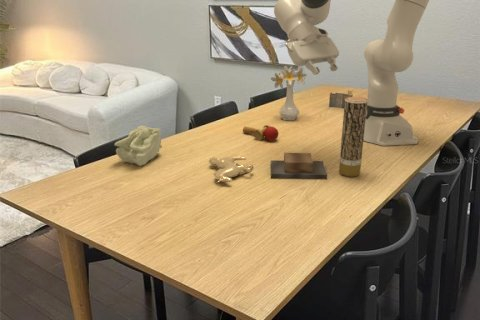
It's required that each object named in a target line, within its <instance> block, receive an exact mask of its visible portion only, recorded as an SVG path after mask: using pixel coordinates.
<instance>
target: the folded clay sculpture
mask: <svg viewBox="0 0 480 320" xmlns="http://www.w3.org/2000/svg"><path fill="white" fill-rule="evenodd" d="M161 132H162V131H161V129H160V128H157V127H154V128H152V127H148V126H145V125H143V124H142V125H139V126H138V127H137V128H135V129H132V130H130V131H129V133H128V135H127V137H125V138H122V139H121V140H120V139H119V140H118V141H116V142H115V143H114V146H115V147H117V148H116V149H115V153H116V155H117V156H118V158H119V159H120V160H121V161H122V162H123V163H130V164H135V165H137V166H139V167H142V166H145V165H146V164H147V163H148V162H149V161H150V160H153V158H155V157H156V156H157V155H158V153H159V152H160V149H161V148H162V147H163V146H162V138H161V137H162V136H161Z"/></svg>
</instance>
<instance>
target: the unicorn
mask: <svg viewBox="0 0 480 320" xmlns="http://www.w3.org/2000/svg"><path fill="white" fill-rule="evenodd" d="M246 160H247V158H246V157H244V156H228V157H226V156H225V157H223V158H218V157H217V158H216V157H214V156H212V157H211V158H209V160H208V163H209V164H210V165H212V166H215V167H217V169H218V170H216V171H214V173H213V175H214V177H215V179H216V180H217V183H221V182H222V183H231V182H233V178H235V177H239V175H244V174H246V173H252V171H253V170H254V168H255V167H254V165H253V164H252V163H249V165H248V164H247V165H245V164H244V165H243V164H240V163H238V162H235V161H246Z"/></svg>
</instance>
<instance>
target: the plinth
mask: <svg viewBox="0 0 480 320" xmlns="http://www.w3.org/2000/svg"><path fill="white" fill-rule="evenodd" d="M270 179H286V180H288V179H294V180H295V179H296V180H297V179H300V180H305V179H306V180H327V179H328V173H327V170H326V167H325V163H324V160H313V157H312V154H311V152H284V153H283V160H275V159H274V160H270Z"/></svg>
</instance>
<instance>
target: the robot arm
mask: <svg viewBox="0 0 480 320" xmlns="http://www.w3.org/2000/svg"><path fill="white" fill-rule="evenodd" d="M429 1H430V0H394V3H393V5H392V7H391V10H390V12H389V14H388V16H387V19H386V24H387V28H386V32H385V34H386V35H385V38H378V39H374V40H372V41H370V42H369V43H368V44H367V45H366V46H365V48H364V53H363V55H364V58H365V60H366V67H367V75H368V77H367V79H368V91H367V111H366V121H365V130H364V140H363V142H364V141H365V142H367V143H371V144H376V145H379V146H383V147H385V146H386V147H387V146H403V145H404V146H407V145H417V144H418V143H419V138H418V137H417V136H416V135H415V134H414V130H413V126H412V124H411V123H410V122H409V121H407V119H405V118H404V117H403V116H402V114H404V113H405V109H404V108H403V107H400V106H399V105H397V101H398V93H399V83H398V81H397V77H396V73H401V72H405V71H406V70H407V69H409V67H411V65H412V63H413V61H414V52H413V44H414V38H415V34H416V30H417V28H418V26H419V24H420V22H421V19H422V17H423V15H424V12H425V10H426V8H427V6H428V4H429ZM330 9H331V0H277V1H276V3H275V5H274V8H273V15H274V17H275V18H276V21H277V22H278V24H279V26H280V28H281V29H282V31H284V32H285V33H286V36H287V38H288V39H287V40H286V41H285V44H284V46H285V47H286V50H287V53H288V55H289V58H290V59H291V62H292V63H293V64H294V65H295V67H298V66H299V67H302V66H305V68H306V69H307V70H309V71H310V72H311V73H312V74H313V75H315V76H316V75H318V74H320V72H321V69H319V67H318V66H315V65H314V64H319V63H327V64H329V65H330V67H329V69H330V71H331V72H336V71H337V70H338V69H339V67H338V66H337V63H336V59H337V58H338V56H339V55H340V50H339V49H338V47H337V45H336V44H335V43H334V41H333V39H332V38H330V37H329V33H328V31H327V30H326V29H323V28H319V27H318V26H316V25H319V24H321V23H323V22H324V21H325V20H326V19H327V18H328V17H329V14H330Z"/></svg>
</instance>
